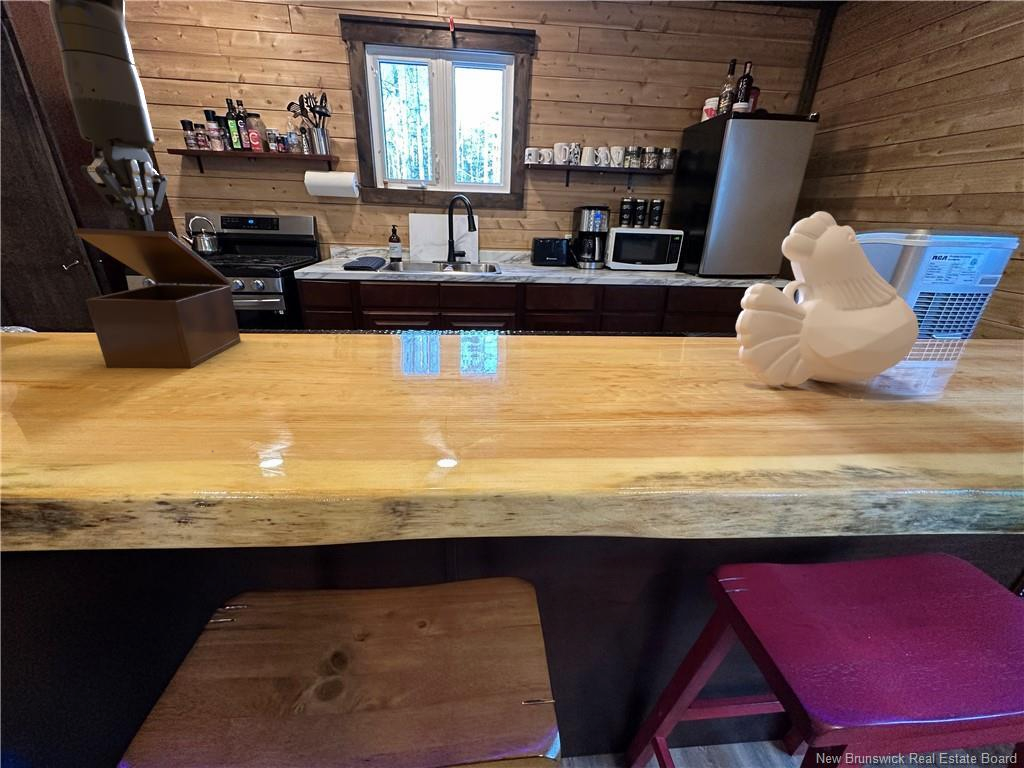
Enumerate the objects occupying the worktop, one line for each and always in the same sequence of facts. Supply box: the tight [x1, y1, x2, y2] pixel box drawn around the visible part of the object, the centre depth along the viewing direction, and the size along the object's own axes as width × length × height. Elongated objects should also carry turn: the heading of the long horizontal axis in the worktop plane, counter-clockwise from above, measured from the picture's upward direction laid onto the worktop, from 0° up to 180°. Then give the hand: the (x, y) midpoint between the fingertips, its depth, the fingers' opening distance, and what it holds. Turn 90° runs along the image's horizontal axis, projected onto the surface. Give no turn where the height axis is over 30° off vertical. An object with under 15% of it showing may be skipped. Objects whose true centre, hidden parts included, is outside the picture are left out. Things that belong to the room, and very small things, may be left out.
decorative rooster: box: [735, 210, 920, 388], centre depth 67 cm, size 25×16×25 cm
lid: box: [74, 227, 231, 286], centre depth 66 cm, size 15×12×1 cm
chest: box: [85, 283, 242, 369], centre depth 68 cm, size 15×12×10 cm
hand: (145, 242), depth 62 cm, fingers closed
